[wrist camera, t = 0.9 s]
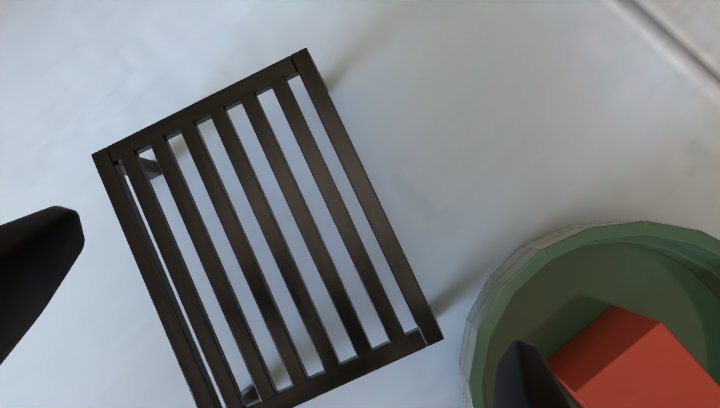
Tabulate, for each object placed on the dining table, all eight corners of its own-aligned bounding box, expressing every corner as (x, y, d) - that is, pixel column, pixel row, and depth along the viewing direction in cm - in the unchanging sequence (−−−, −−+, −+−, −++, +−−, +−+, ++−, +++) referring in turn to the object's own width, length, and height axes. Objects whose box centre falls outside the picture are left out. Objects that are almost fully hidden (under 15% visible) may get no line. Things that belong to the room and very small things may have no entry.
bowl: (813, 445, 23) (899, 490, 19) (537, 560, 24) (564, 627, 20) (670, 176, 24) (723, 166, 20) (412, 295, 25) (414, 307, 21)
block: (677, 377, 23) (743, 412, 19) (604, 436, 23) (653, 485, 19) (612, 304, 24) (662, 321, 19) (541, 362, 24) (573, 393, 19)
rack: (436, 319, 25) (445, 341, 20) (246, 405, 25) (208, 448, 20) (323, 79, 26) (304, 43, 21) (144, 167, 27) (84, 153, 22)
